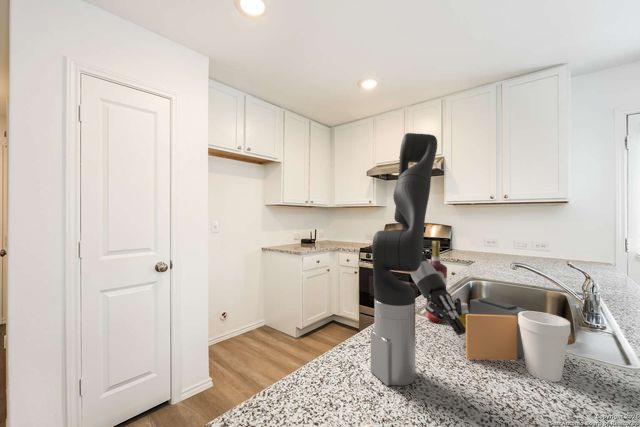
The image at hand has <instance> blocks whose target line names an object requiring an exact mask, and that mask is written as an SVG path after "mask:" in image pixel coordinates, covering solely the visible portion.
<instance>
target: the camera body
mask: <svg viewBox="0 0 640 427" xmlns="http://www.w3.org/2000/svg"><path fill="white" fill-rule="evenodd" d="M522 311H528V309H527V308H523V307H518V306H517V305H516V304H513V303H512V304H511V303H509V302H505V301H502V300H497V299H495V298H494V299H493V298H491V297H490V298H489V297H479V298H478V297H477V298H473V299H470V300H469V314H479V315H511V316H516V317H517V360H518V359H520V358H523V357H524V351H523V345H522V339H521V332H520V326H519V324H518V313H519V312H522Z"/></svg>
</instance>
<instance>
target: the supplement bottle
mask: <svg viewBox="0 0 640 427" xmlns="http://www.w3.org/2000/svg"><path fill="white" fill-rule="evenodd" d="M461 308H462V315H461V316H460V317H459V320H460V321H461V323H462V324H463V326H464V327H465V329H466V314H470V310H468V303H467V302H464V301H461Z"/></svg>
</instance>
